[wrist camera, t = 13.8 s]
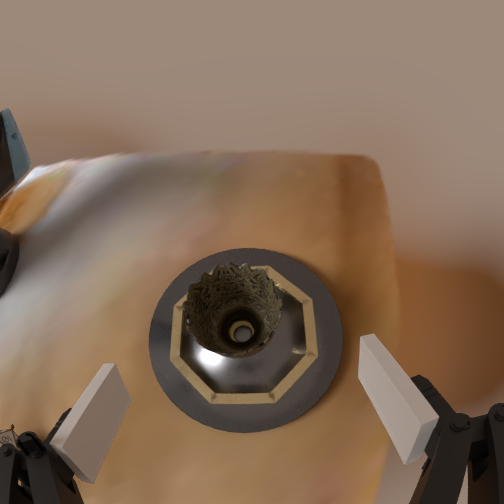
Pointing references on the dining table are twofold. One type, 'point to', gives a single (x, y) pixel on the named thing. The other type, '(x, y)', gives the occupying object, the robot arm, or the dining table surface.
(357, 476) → the dining table surface
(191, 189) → the dining table surface
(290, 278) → the carrier plate
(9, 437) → the game die
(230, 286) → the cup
